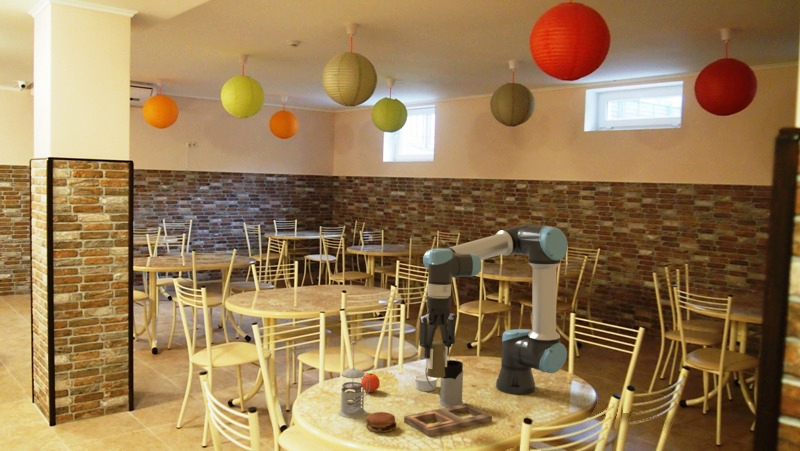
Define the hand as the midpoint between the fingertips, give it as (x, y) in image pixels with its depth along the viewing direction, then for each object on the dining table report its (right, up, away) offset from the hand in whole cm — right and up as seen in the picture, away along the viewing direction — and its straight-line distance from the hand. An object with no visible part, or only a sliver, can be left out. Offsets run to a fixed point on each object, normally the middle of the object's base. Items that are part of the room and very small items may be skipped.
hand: (436, 366), depth 211 cm
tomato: (-23, -17, +34) cm, 45 cm away
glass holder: (+4, -18, +23) cm, 30 cm away
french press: (-28, -18, +11) cm, 35 cm away
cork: (0, -3, 0) cm, 3 cm away
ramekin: (-2, -17, +40) cm, 43 cm away
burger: (-18, -20, -2) cm, 27 cm away
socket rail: (+4, -19, +4) cm, 20 cm away
